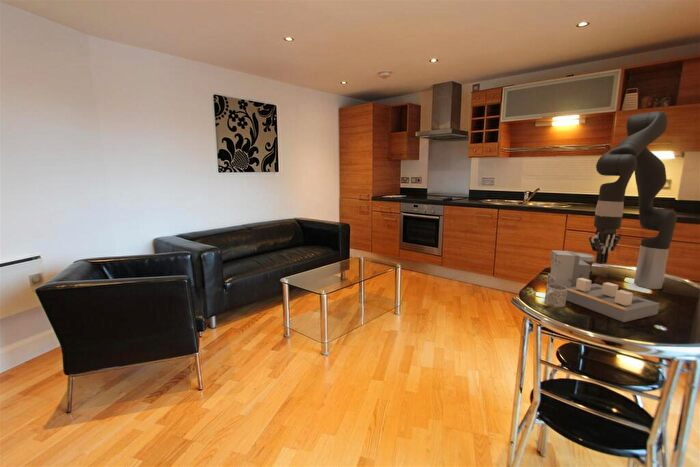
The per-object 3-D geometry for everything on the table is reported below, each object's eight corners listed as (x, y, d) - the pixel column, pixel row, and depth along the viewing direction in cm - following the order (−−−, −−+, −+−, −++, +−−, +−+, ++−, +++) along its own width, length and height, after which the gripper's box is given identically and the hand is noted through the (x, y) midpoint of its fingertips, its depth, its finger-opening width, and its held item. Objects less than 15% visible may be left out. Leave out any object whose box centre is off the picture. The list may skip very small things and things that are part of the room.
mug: (550, 299, 133) (552, 282, 132) (568, 305, 128) (571, 288, 127) (535, 304, 128) (537, 287, 127) (553, 310, 123) (556, 293, 122)
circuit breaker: (591, 292, 141) (596, 256, 138) (553, 289, 144) (557, 254, 141) (583, 286, 149) (588, 252, 146) (546, 283, 151) (551, 250, 148)
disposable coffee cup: (594, 285, 150) (598, 258, 147) (569, 282, 153) (572, 256, 150) (587, 278, 159) (590, 253, 156) (563, 276, 161) (566, 251, 159)
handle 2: (620, 300, 121) (621, 289, 120) (631, 304, 117) (633, 293, 117) (614, 301, 120) (616, 290, 119) (625, 305, 116) (627, 294, 116)
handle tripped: (606, 292, 128) (608, 282, 128) (616, 295, 125) (618, 285, 125) (601, 293, 127) (603, 283, 127) (611, 296, 124) (613, 286, 123)
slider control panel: (593, 292, 140) (595, 283, 140) (657, 314, 120) (659, 303, 120) (562, 298, 134) (563, 288, 133) (623, 322, 114) (625, 310, 113)
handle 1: (581, 287, 133) (582, 277, 133) (590, 290, 130) (591, 280, 129) (575, 288, 132) (577, 278, 132) (584, 291, 129) (586, 281, 128)
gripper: (610, 212, 124) (603, 258, 127) (584, 213, 119) (577, 262, 122) (633, 214, 117) (625, 264, 120) (606, 216, 112) (599, 268, 116)
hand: (601, 263), depth 121 cm, fingers closed
